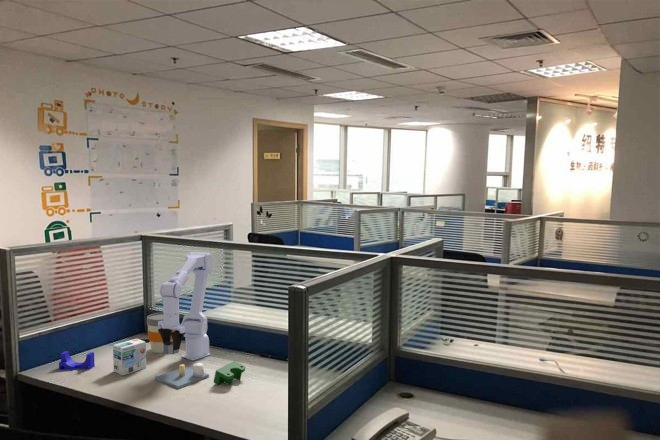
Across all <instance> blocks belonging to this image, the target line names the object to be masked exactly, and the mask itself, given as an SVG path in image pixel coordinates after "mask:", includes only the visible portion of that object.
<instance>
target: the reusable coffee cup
mask: <svg viewBox="0 0 660 440" xmlns="http://www.w3.org/2000/svg"><path fill="white" fill-rule="evenodd" d="M159 321H164V311H162V312H161V311H160V312H155V313H151V314H149V315H147V316H146V324H147V329H146V331H147V336H148V341H149V343H150V349H151V352H153V353H156V354H164V350H163V340H162V337H161V335H160V333H159V332H158V329H160V328H161V327H159V326H158V322H159ZM172 332H175V331H174V330H172ZM172 332H171V333H172ZM170 341H173V340H172V337H171V339H170Z"/></svg>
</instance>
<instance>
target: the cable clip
mask: <svg viewBox="0 0 660 440" xmlns="http://www.w3.org/2000/svg"><path fill="white" fill-rule="evenodd" d="M93 368H95V352H94V351H90V352H89V353H87V354H86V356H85V359H84V361H83V362H78V361H76V360H74V359H73V358H72V357H71V355H70V352H69V351H67V350H66V351H65V350H64V351H63V352H61V353H60V361H59V362H58V370H63V371H69V370H70V371H75V370H76V369H77V370H80V369H81V370H92V369H93Z"/></svg>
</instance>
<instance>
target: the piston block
mask: <svg viewBox="0 0 660 440" xmlns="http://www.w3.org/2000/svg"><path fill="white" fill-rule="evenodd" d="M204 366H205V365H204V363H203V362H202V363H201V362H196V363H193V364H192V368H191V367H189V366H186V365H185V364H179V366H178V368H176V369H173V370H170V371H168V372H164V373H162V374H159V375H157V376H154V380H155V381H158V382H160V383H163V384H166V385H168V386H170V387H172V388H176V389H177V390H179V389H182V388H185V387H186V386H187V387H188V386H190V385H192V384H194V383H197V382H199V381H200V382H201V381H202V380H205V379H207V378H209V377H210V374H209V373H206V372H204V369H205V367H204Z"/></svg>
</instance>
